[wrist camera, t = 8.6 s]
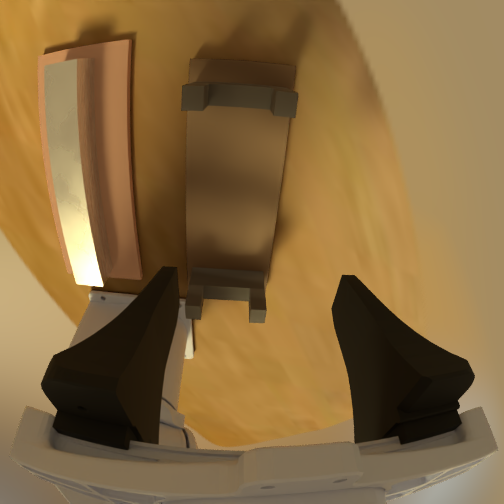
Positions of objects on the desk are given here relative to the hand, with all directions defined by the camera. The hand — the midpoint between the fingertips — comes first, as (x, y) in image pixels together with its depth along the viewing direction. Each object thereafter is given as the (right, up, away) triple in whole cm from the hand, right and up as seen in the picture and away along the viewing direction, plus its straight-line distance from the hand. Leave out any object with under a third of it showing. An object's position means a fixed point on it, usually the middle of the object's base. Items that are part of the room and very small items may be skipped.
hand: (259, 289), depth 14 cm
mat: (-12, +7, +6) cm, 15 cm away
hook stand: (-2, +6, +7) cm, 10 cm away
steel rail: (-12, +6, +4) cm, 14 cm away
